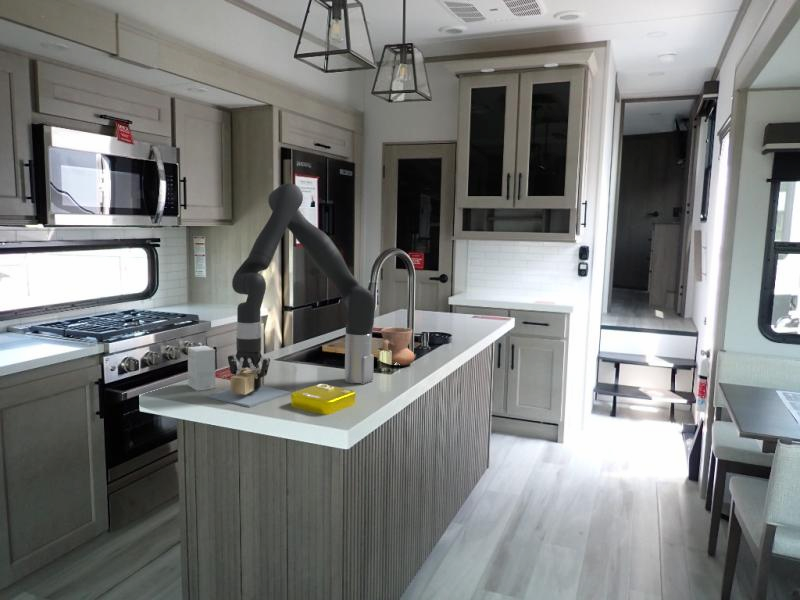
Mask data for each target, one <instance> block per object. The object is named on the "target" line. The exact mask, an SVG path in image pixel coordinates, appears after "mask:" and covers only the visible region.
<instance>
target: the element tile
mask: <svg viewBox="0 0 800 600" xmlns="http://www.w3.org/2000/svg"><path fill="white" fill-rule="evenodd" d="M290 393H291V394H290V401H291V402H290V405H291V407H292V408H295V409H299V410H303V411H307V412H311V413H314V414H317V415H318V414H319V415H324V416H325V415H326V416H328V415H332V414H334V413H337V412H340V411H342V410H345V409H348V408H349V407H352V405H353V406H355V405H356V391H355V390H352V389H349V388H348V389H347V388H343V387H339V386H334V385H329V384H325V383H318V384H315V385H312V386H309V387H306V388H305V387H304V388H302V389H299V390H296V391H293V392H290ZM354 404H355V405H354Z"/></svg>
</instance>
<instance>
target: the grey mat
mask: <svg viewBox="0 0 800 600" xmlns="http://www.w3.org/2000/svg"><path fill="white" fill-rule="evenodd" d="M290 393H291V392H290V391H288V390H283V389H279V388H275V387H270V386H264V385H263V386H261V387H260V388H259V389H258V390H253V391H251V392H249V393H248V394H246V395H244V394H236V393H231V387H230V388H225V389H223V390H219V391H217V392H213V393H210V394H207V395H206V398H209V399H212V400H213V399H214V400H217V401H222V402H226V403H231V404H235V405H238V406H243V407H248V408H251V407H255V406H257V405H260V404H263V403H266V402H269V401H271V400H275V399H277V398H281V397H284V396H286V395H289V394H290ZM290 395H291V394H290Z"/></svg>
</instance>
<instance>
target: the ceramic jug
mask: <svg viewBox="0 0 800 600" xmlns="http://www.w3.org/2000/svg"><path fill="white" fill-rule="evenodd" d="M380 331H381V336H382V339H383V342H382V344H381V345H382V346H381V347H382V351H383V350H385V351H386V350H387V351H388V350H391V351H392V364H393V365H394V364H395V363H396V362H397V363H399V364H400V366H399V367H404V366H408V365H411V364H412V363H413V362H414V360H415V357H416V356H415V353H414V352H413V351H412V349H409V348H408V346H409V344H410V342H411V339H412V335H413V329H412V328H410V327H404V326H391V327H384V328H382V329H381V330H380ZM378 357H379V355H378Z"/></svg>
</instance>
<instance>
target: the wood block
mask: <svg viewBox="0 0 800 600" xmlns="http://www.w3.org/2000/svg"><path fill="white" fill-rule="evenodd" d="M260 371H261V369H260ZM254 379H255V377H254V374H253V372H252V371H251V368H247V369H245V370H244V372H241V373H239V374H236V375H234V374H233V375H231V376H230V388H231V393H236V394H244V395H246V394H248V393H249V392H251V391H253V390H254ZM264 385H265V376H264V377H261V386H264Z"/></svg>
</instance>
